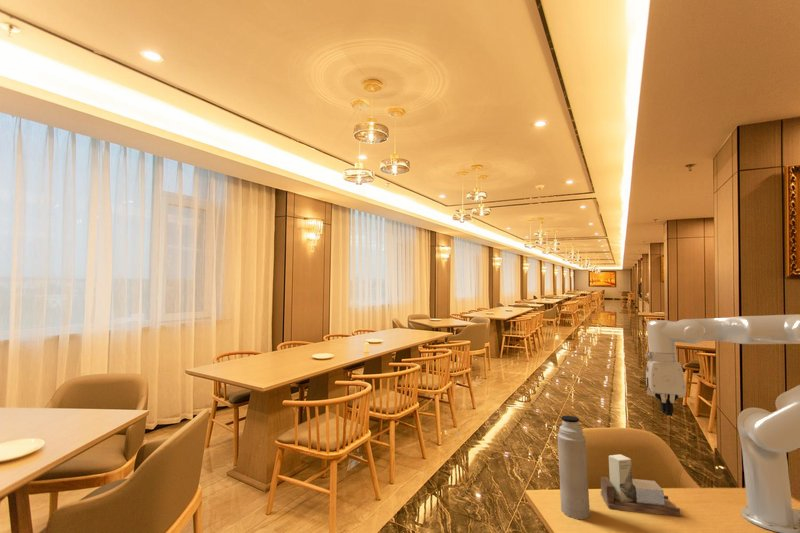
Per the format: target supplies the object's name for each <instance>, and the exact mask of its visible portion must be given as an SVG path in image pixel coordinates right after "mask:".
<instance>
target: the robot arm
mask: <svg viewBox="0 0 800 533" xmlns="http://www.w3.org/2000/svg"><path fill="white" fill-rule="evenodd" d="M646 331H647V343H648V352H647V353H644V358H646V359H648V360H647V362H646V367H645V368H646V369H645V370H646V371H645V385H646V389H647V390H646V394H647V395H648V396H651V397H654V398H656V399H658V401H659V403H660V404H659V405H660V412H661V413H662V414H663V415H665V416H666V417H667V416H668V417H672V416H673V414H674V403H675V401H676V400H678V399H680V398H684V397H686V393H687V385H686V379H685V375H684V372H683V371H684V370H683V366H682V364H681V362H679V361H678V355H677V344H676V343H681V344H688V345H696V344H700V343H702V342H728V343H734V344H740V345H792V344H793V345H794V344H795V345H796V344H797V345H800V314H774V315H773V314H771V315H744V316H743V315H741V316H730V317H715V318H714V317H712V318H685V319H683V318H682V319H680V320H677V321H671V320H667V319H666V320H664V319H661V320H660V319H653V320H648V321H647V323H646ZM774 403H775V407H776V408H775V409H776V410H775V411H773V412H771V411H768V410H767V409H764V408H761V407H748V408H745V409H743V410H742V411H741V412H740V413H739V414H738V417H737V424H736V425H737V431H738V434H739V439H740V444H741V446H740V447H741V452H742V453H741V454H742V462H743V463H742V464H743V472H744V483H745V484H744V485H745V492H746V494H745V495H746V503H747V505H746V506H743V507H742V508H741V510H740V511H741V512H740V513H741V515H742V517H743V518H745V520H747V521H749V522H750V523H752V524H754V525H756V526H757V527H760V528H763V529H766V530H769V531H772V532H777V533H800V509H799V508H798V509H796V508H793V502H792V492H791V484H790V483H791V482H790V476H789V474H790V473H789V465H788V463H789V462H788V458H787V453H790V452H793V451H796V450H797V449H800V384H798V385H796V386H795V387H793V388H792V387H791V388H790V389H789V390H787V391H784V392H782V393H780V394H779V395H778V396H777V397H776V400H775V402H774Z"/></svg>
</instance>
